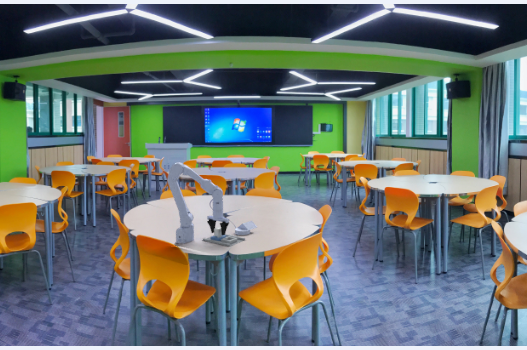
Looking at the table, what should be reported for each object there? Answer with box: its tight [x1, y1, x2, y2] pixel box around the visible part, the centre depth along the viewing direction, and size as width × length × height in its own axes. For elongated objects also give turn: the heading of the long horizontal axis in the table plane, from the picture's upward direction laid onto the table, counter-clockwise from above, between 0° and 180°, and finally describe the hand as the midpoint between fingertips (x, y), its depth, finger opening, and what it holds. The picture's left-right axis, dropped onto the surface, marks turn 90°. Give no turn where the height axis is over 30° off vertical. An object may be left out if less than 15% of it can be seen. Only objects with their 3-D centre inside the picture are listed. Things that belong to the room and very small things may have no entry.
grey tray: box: [202, 233, 246, 248], centre depth 190 cm, size 14×20×3 cm
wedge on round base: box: [234, 220, 258, 236], centre depth 205 cm, size 9×7×13 cm
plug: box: [213, 226, 223, 238], centre depth 192 cm, size 3×3×6 cm
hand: (218, 233), depth 192 cm, fingers open, 7 cm apart
